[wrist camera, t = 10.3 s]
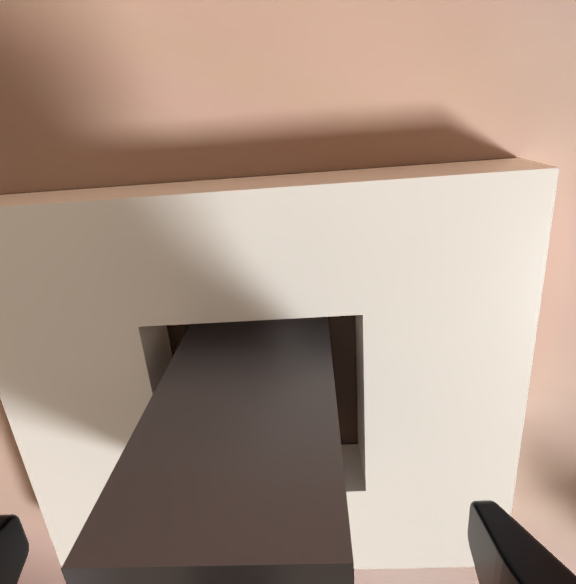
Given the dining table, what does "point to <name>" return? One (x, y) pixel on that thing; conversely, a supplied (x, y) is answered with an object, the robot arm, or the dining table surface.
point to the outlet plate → (288, 305)
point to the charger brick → (229, 468)
